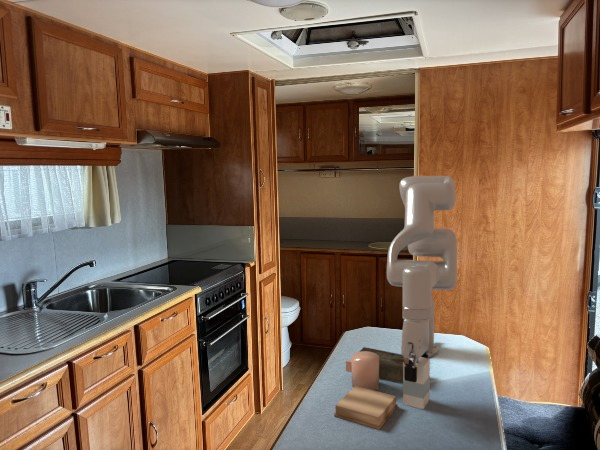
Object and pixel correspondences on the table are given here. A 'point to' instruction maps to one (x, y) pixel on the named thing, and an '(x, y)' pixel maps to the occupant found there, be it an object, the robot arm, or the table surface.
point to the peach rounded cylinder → (364, 370)
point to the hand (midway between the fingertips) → (416, 374)
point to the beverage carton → (389, 365)
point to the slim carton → (418, 385)
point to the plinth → (366, 407)
